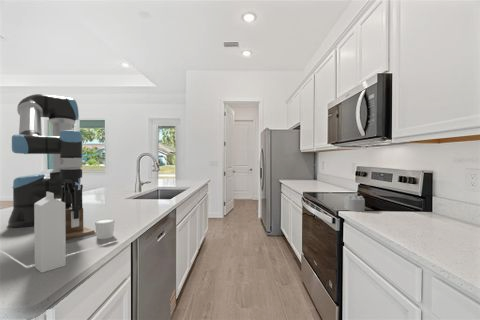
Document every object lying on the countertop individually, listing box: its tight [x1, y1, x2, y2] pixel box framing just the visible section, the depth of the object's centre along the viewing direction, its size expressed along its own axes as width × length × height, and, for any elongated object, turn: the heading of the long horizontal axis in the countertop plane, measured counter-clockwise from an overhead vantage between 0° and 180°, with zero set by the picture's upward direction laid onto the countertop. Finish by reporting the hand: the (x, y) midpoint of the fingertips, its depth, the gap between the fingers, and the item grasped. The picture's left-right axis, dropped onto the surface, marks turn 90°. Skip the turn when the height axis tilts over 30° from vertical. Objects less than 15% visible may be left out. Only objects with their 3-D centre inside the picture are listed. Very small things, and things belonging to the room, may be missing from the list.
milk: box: [33, 192, 67, 273], centre depth 75 cm, size 6×6×22 cm
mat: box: [66, 231, 97, 245], centre depth 103 cm, size 20×14×1 cm
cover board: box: [65, 207, 95, 240], centre depth 103 cm, size 12×12×10 cm
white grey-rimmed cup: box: [94, 218, 115, 240], centre depth 101 cm, size 7×7×7 cm
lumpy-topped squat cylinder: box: [344, 194, 366, 213], centre depth 159 cm, size 10×13×9 cm
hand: (71, 225), depth 103 cm, fingers open, 5 cm apart
